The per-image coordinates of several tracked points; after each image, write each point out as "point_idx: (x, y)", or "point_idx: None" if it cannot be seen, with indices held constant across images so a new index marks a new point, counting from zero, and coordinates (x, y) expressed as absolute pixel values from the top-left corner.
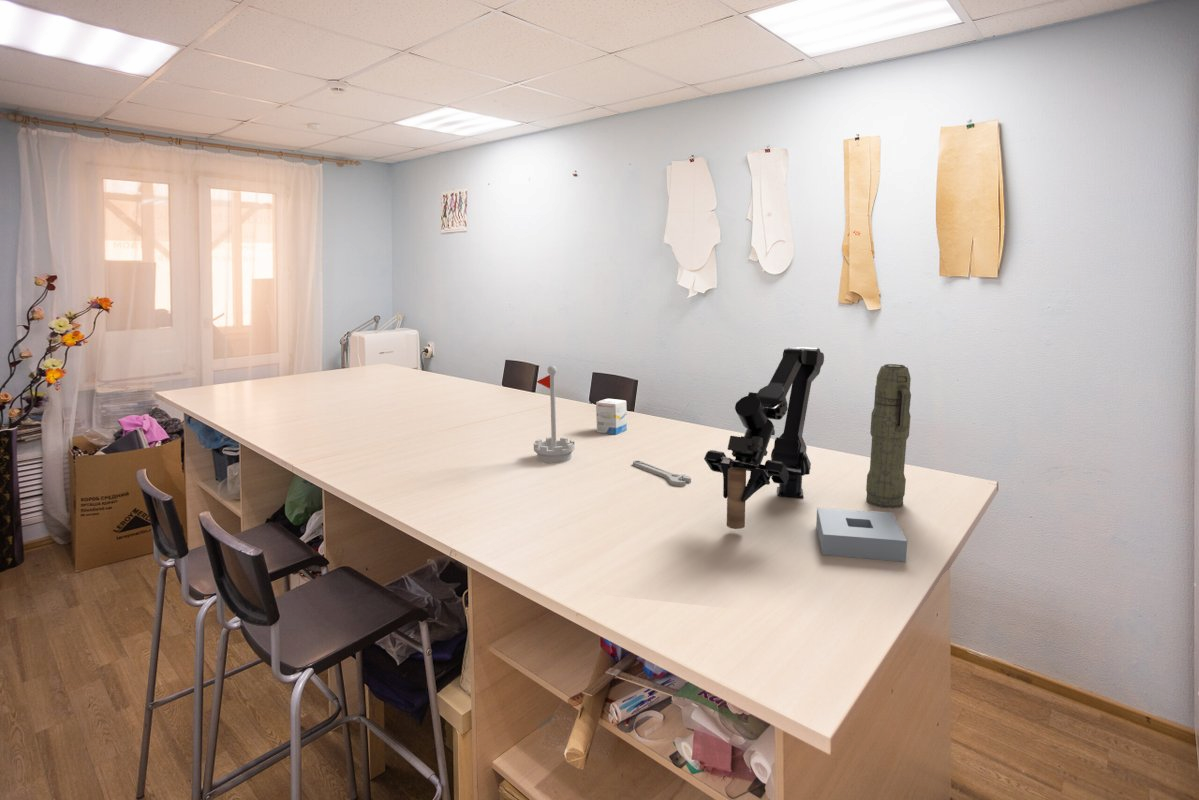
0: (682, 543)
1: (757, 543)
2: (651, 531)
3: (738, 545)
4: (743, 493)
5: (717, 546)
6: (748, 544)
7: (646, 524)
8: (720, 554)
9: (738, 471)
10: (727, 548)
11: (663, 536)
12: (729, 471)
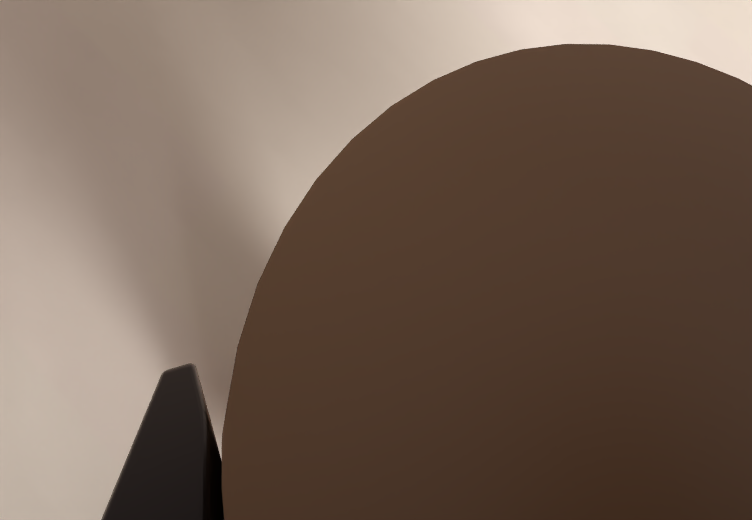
0: (391, 15)
1: (14, 425)
2: (632, 22)
3: (107, 265)
4: (196, 421)
5: (206, 136)
6: (60, 344)
7: (730, 75)
8: (93, 50)
9: (500, 336)
10: (129, 161)
11: (538, 15)
12: (695, 69)
